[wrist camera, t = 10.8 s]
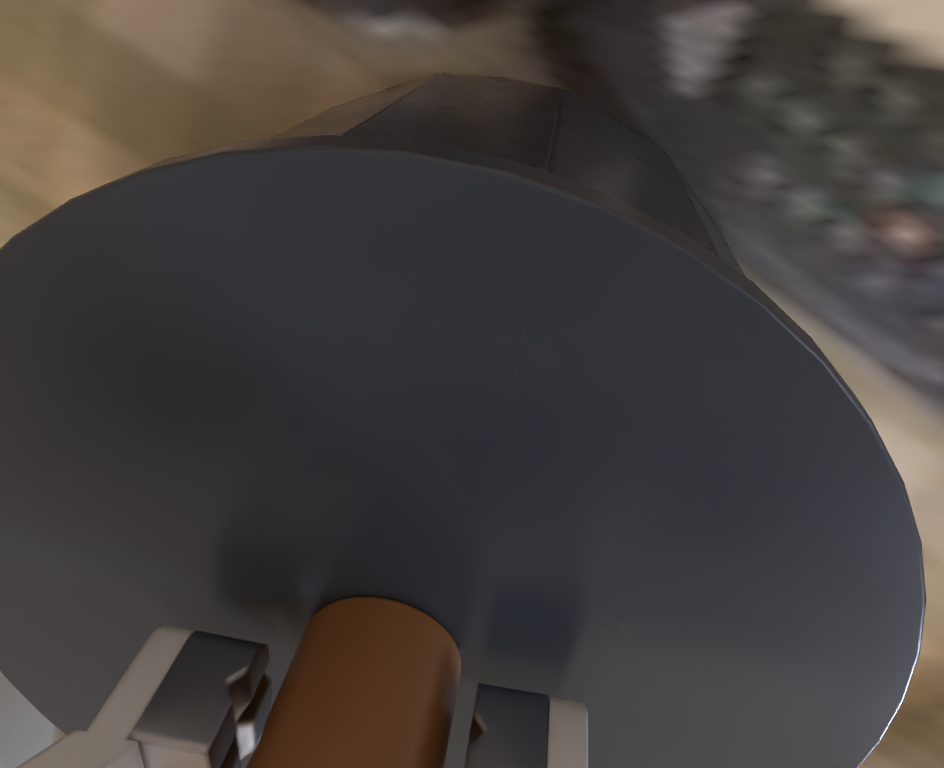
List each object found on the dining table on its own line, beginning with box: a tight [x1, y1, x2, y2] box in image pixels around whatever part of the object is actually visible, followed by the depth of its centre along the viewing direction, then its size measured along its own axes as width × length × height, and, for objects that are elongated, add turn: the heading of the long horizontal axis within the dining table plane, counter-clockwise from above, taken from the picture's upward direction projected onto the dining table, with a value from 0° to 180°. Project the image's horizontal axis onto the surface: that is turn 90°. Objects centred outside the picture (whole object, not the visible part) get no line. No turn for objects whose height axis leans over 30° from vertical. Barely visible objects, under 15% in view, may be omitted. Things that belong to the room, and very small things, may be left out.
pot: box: [271, 73, 745, 276], centre depth 15 cm, size 14×14×10 cm
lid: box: [0, 135, 926, 768], centre depth 9 cm, size 15×15×5 cm
